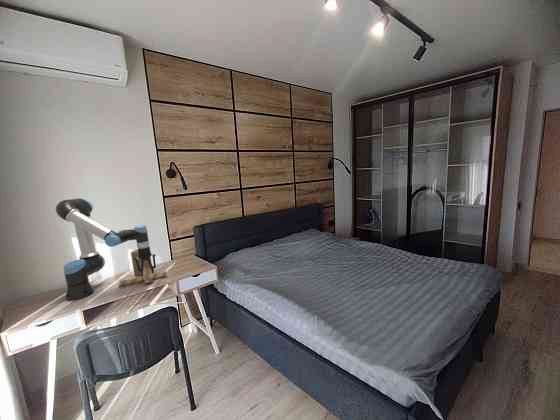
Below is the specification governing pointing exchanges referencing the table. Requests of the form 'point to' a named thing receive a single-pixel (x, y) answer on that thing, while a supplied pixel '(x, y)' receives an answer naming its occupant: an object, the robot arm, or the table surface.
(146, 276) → the gauge
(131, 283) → the board
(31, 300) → the table surface
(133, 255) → the wooden block
